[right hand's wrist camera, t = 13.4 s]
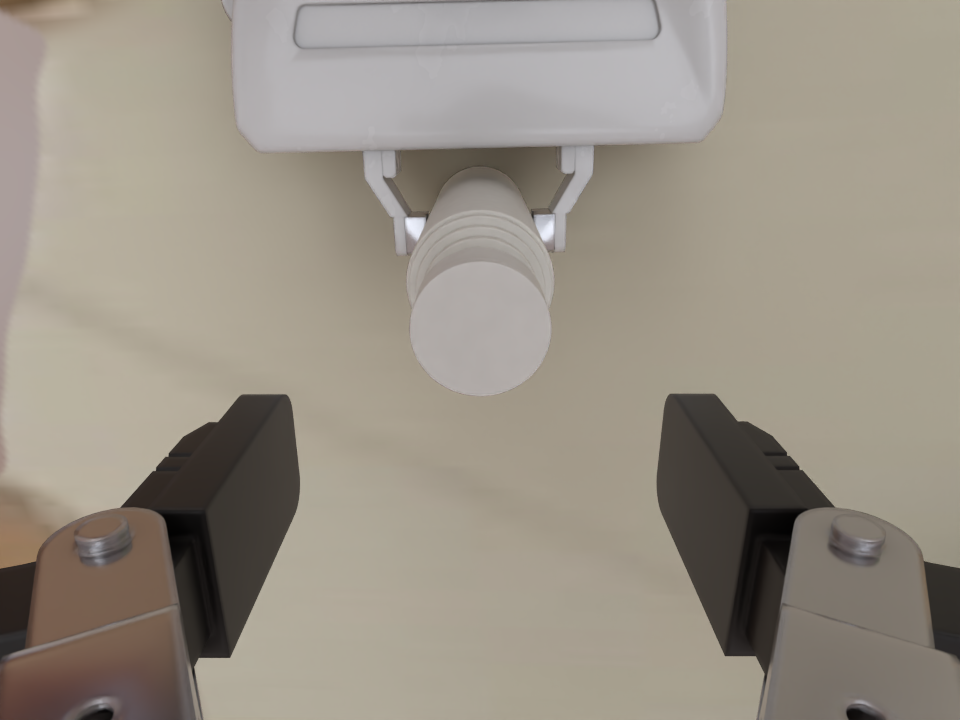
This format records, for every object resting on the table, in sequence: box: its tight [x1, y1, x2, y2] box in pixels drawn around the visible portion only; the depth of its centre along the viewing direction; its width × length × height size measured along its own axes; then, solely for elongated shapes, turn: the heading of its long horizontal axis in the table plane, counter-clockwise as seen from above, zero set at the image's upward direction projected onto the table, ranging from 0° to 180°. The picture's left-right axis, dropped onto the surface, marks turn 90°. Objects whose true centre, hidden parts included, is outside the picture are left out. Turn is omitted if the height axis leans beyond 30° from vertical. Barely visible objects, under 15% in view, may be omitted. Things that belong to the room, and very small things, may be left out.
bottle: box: [406, 166, 554, 309], centre depth 27 cm, size 5×5×20 cm
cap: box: [409, 247, 552, 396], centre depth 18 cm, size 4×4×2 cm
